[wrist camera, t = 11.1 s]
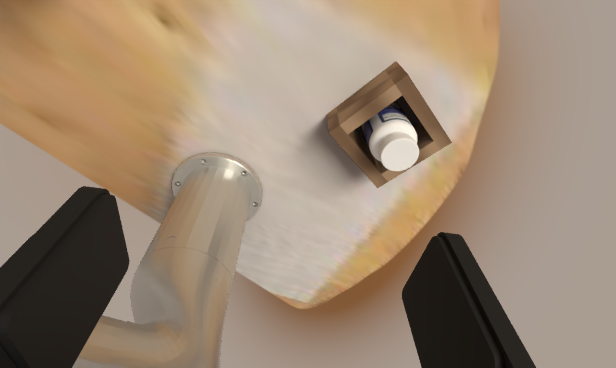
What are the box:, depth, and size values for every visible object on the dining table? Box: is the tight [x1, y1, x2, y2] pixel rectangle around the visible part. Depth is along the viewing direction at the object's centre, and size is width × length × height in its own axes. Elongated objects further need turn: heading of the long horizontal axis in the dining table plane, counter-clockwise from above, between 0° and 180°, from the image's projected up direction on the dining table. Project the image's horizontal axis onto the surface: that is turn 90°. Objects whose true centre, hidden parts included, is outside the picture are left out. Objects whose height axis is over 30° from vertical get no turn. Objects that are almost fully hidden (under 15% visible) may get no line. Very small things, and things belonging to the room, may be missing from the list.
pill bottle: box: [362, 102, 419, 171], centre depth 36 cm, size 5×5×9 cm
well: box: [327, 62, 452, 188], centre depth 38 cm, size 10×10×5 cm
